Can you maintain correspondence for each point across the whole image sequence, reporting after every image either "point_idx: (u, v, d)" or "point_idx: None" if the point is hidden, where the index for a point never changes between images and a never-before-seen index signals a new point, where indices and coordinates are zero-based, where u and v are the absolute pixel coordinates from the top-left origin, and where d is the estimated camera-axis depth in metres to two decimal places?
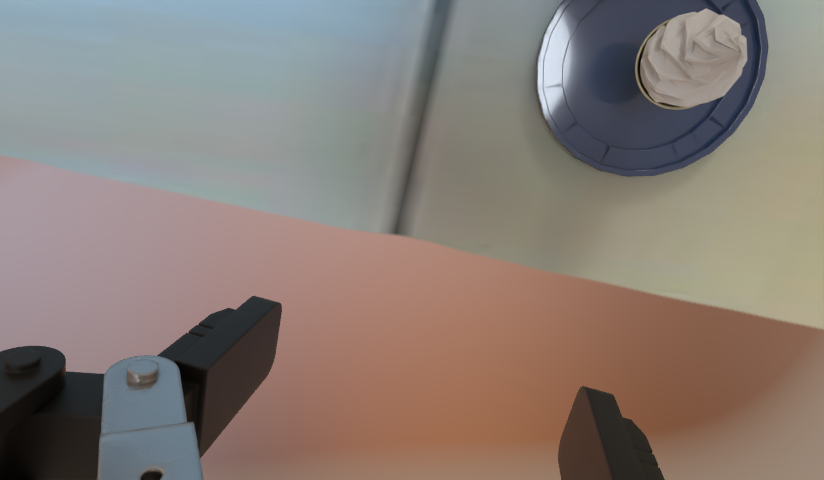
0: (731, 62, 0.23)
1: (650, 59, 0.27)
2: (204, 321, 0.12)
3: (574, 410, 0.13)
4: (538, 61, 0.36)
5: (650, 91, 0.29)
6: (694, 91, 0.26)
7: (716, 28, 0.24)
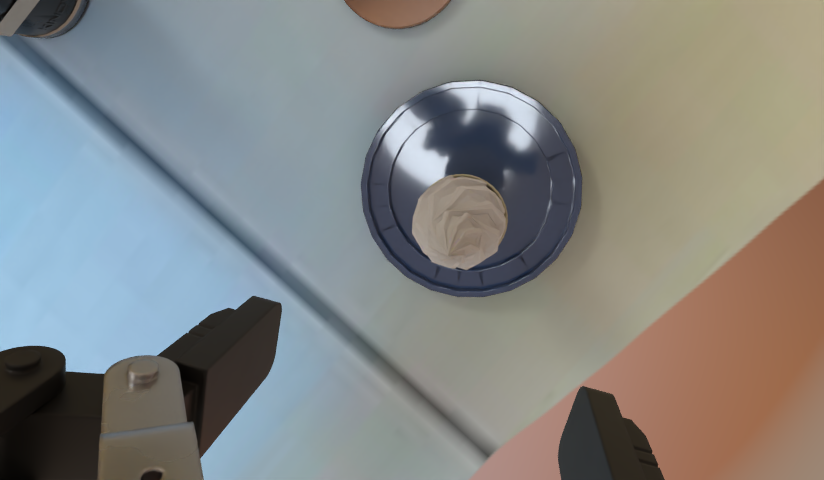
0: (460, 249, 0.22)
1: (434, 262, 0.27)
2: (204, 321, 0.12)
3: (574, 410, 0.13)
4: (407, 276, 0.37)
5: None
6: (481, 252, 0.25)
7: (430, 227, 0.24)
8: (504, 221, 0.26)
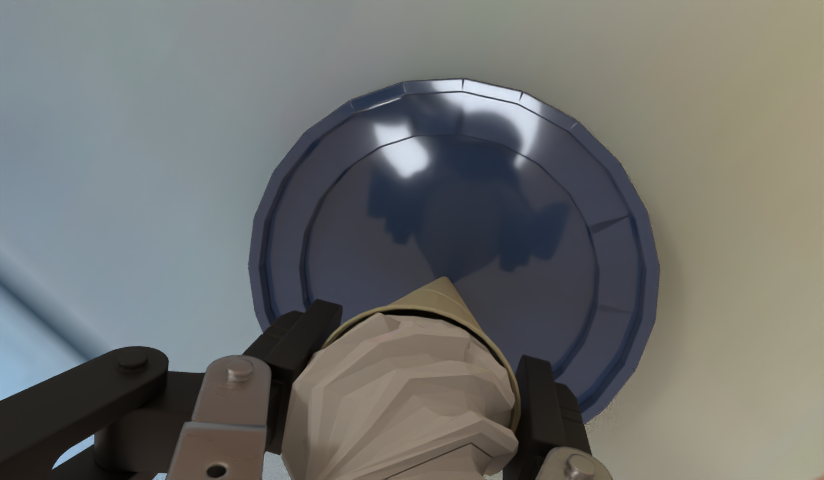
0: None
1: None
2: (274, 323, 0.13)
3: (516, 377, 0.13)
4: None
5: None
6: None
7: None
8: (515, 448, 0.10)
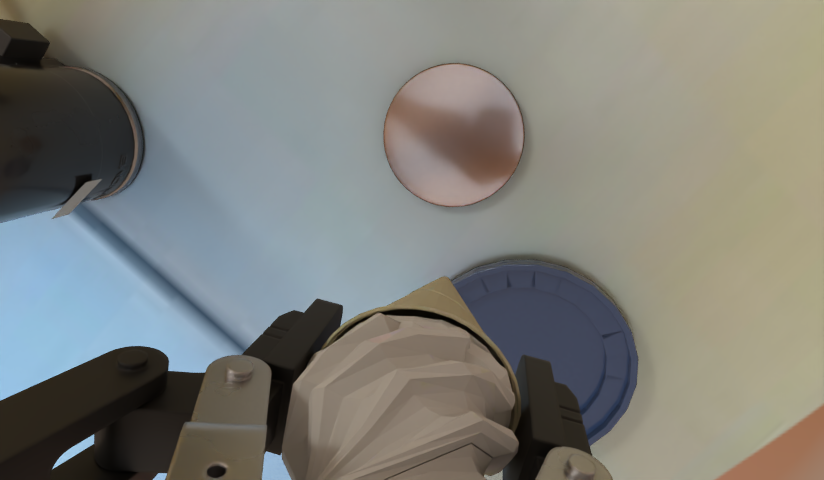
0: None
1: None
2: (275, 323, 0.13)
3: (516, 377, 0.13)
4: None
5: None
6: None
7: None
8: (515, 448, 0.10)
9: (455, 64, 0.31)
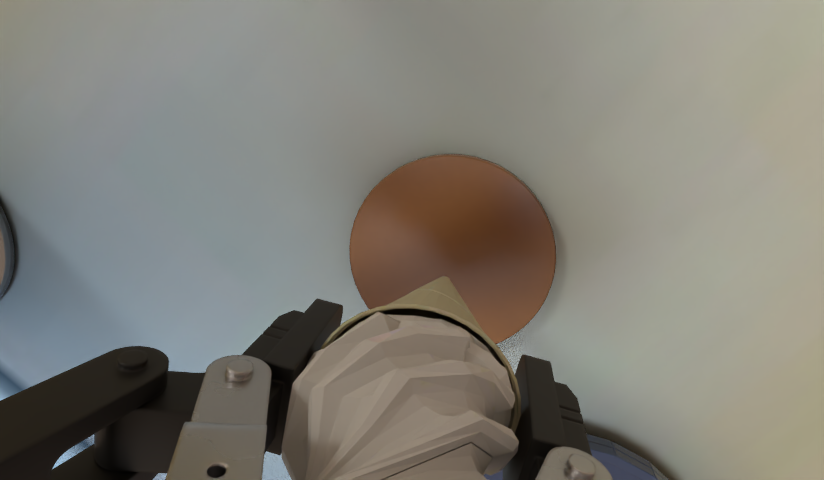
0: None
1: None
2: (275, 323, 0.13)
3: (516, 377, 0.13)
4: None
5: None
6: None
7: None
8: (515, 447, 0.10)
9: (454, 157, 0.21)
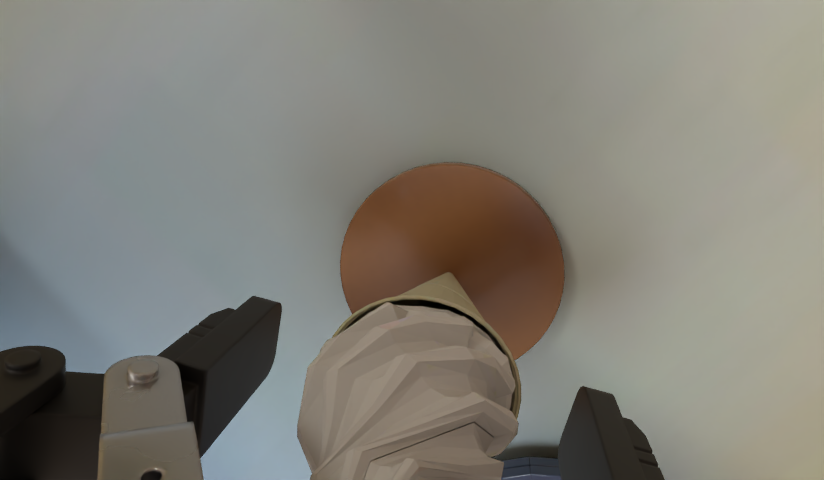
0: None
1: None
2: (204, 321, 0.12)
3: (574, 410, 0.13)
4: None
5: None
6: None
7: None
8: (515, 428, 0.11)
9: (454, 166, 0.19)
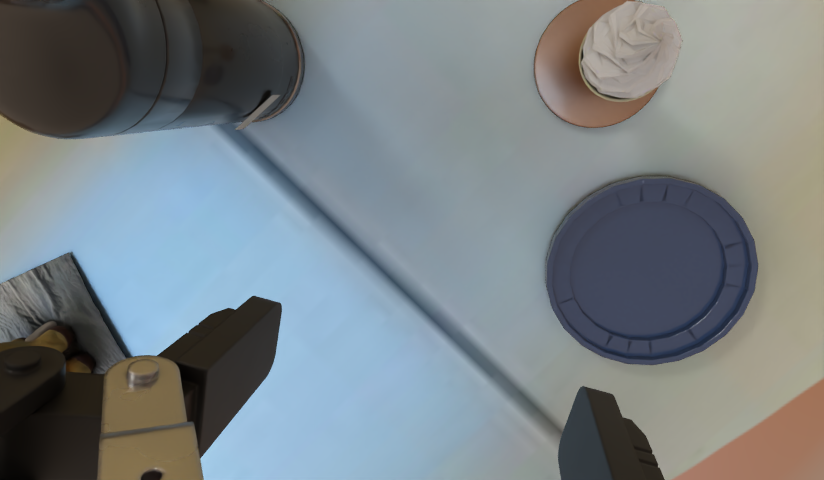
0: (663, 44, 0.23)
1: (605, 90, 0.27)
2: (204, 321, 0.12)
3: (574, 410, 0.13)
4: (582, 344, 0.41)
5: None
6: (661, 70, 0.26)
7: (621, 35, 0.24)
8: (680, 44, 0.26)
9: None
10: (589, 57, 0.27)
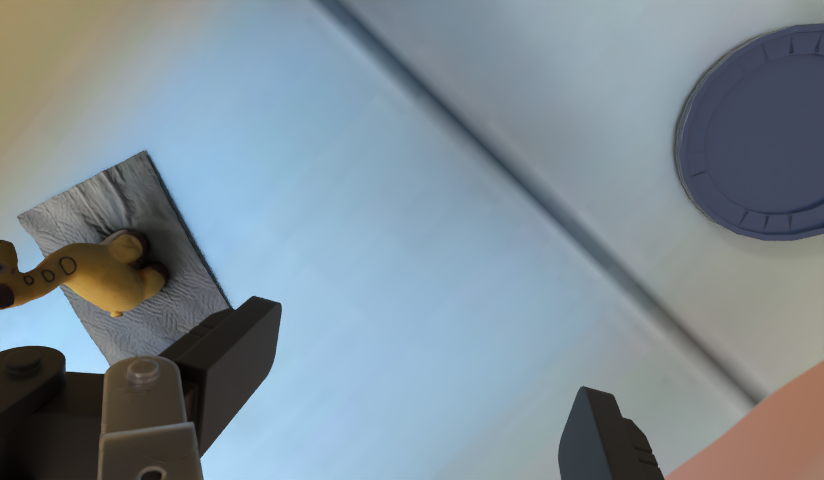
0: None
1: None
2: (204, 321, 0.12)
3: (574, 410, 0.13)
4: (716, 221, 0.38)
5: None
6: None
7: None
8: None
9: None
10: None
